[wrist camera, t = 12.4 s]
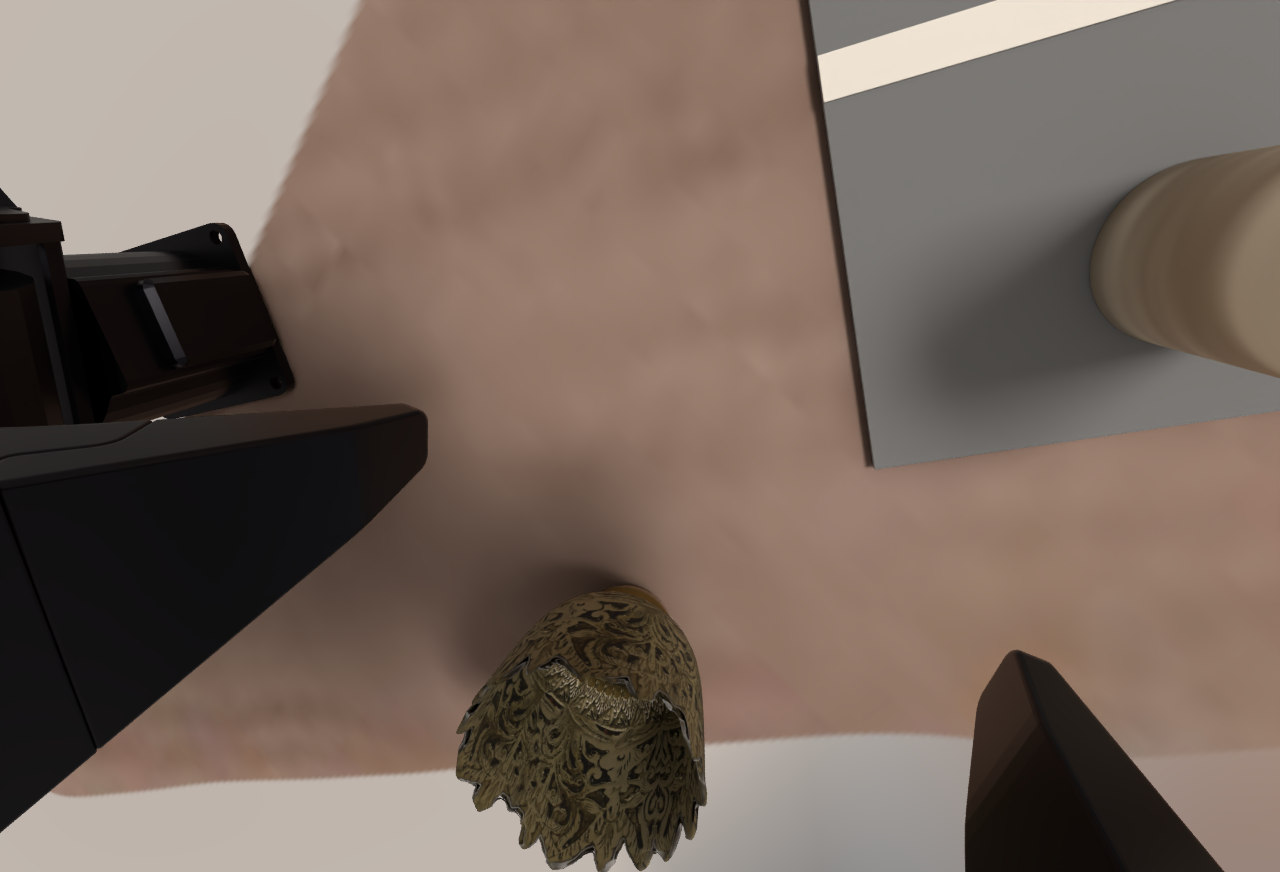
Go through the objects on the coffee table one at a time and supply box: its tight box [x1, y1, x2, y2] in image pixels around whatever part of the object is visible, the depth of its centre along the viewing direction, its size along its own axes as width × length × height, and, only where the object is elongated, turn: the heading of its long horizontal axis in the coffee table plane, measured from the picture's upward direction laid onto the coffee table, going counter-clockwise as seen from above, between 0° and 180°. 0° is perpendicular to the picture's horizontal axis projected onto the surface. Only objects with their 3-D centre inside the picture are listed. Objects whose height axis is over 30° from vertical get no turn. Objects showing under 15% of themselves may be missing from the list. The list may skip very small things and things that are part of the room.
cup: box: [456, 585, 707, 872], centre depth 21 cm, size 8×7×8 cm
